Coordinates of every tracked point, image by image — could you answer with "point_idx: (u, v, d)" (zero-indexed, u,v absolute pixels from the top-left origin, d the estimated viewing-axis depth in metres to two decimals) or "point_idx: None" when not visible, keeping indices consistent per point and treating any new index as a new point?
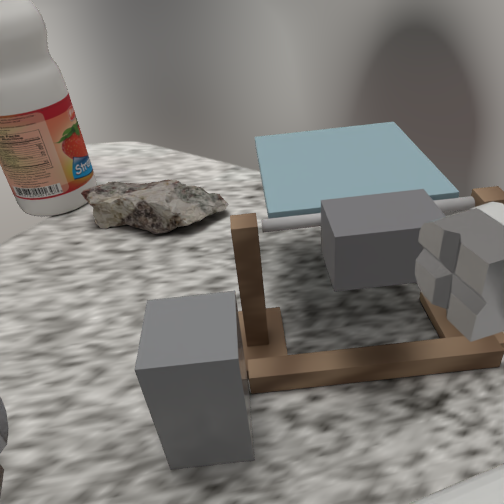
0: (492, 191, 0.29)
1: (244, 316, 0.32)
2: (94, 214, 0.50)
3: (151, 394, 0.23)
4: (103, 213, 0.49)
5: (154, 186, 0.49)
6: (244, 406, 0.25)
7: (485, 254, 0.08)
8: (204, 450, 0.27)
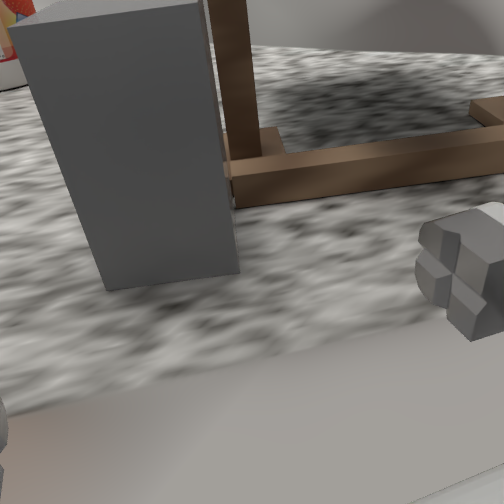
0: None
1: (224, 100, 0.22)
2: None
3: (48, 100, 0.13)
4: None
5: None
6: (216, 139, 0.14)
7: (485, 254, 0.08)
8: (157, 248, 0.16)
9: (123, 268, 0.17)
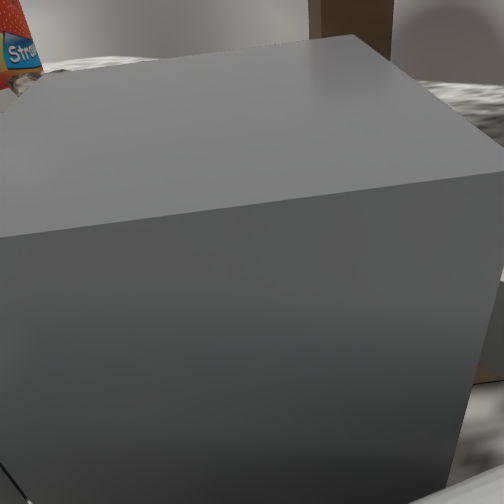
0: None
1: None
2: None
3: (8, 414, 0.04)
4: None
5: None
6: (447, 455, 0.06)
7: None
8: None
9: None
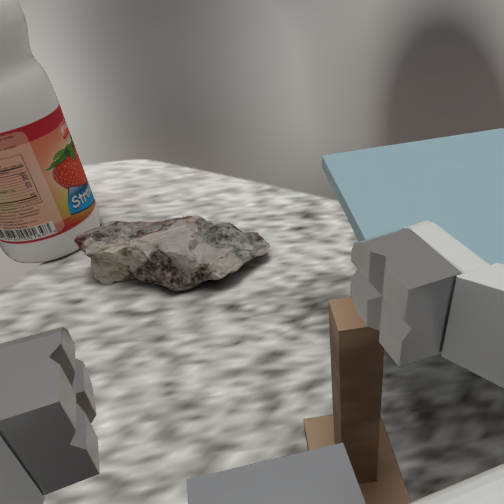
0: None
1: None
2: (93, 267, 0.37)
3: None
4: (105, 265, 0.37)
5: (171, 226, 0.37)
6: None
7: (407, 279, 0.07)
8: None
9: None
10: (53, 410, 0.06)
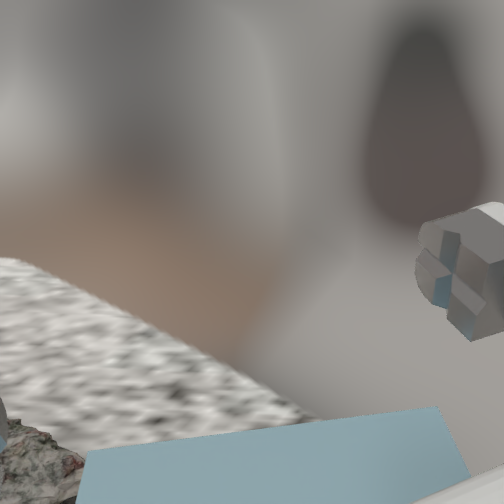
0: None
1: None
2: None
3: None
4: None
5: None
6: None
7: (485, 254, 0.08)
8: None
9: None
10: None
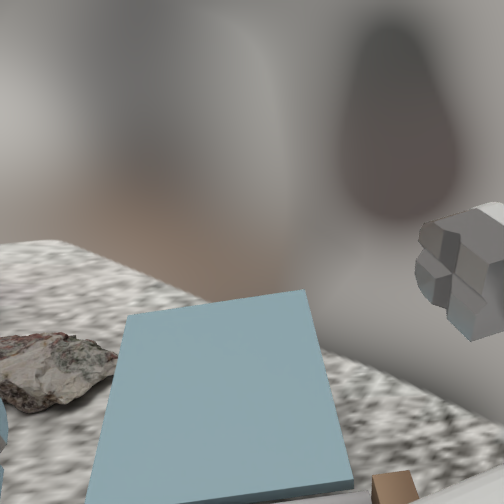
0: (399, 485, 0.20)
1: None
2: None
3: None
4: None
5: (28, 349, 0.40)
6: None
7: (485, 254, 0.08)
8: None
9: None
10: None
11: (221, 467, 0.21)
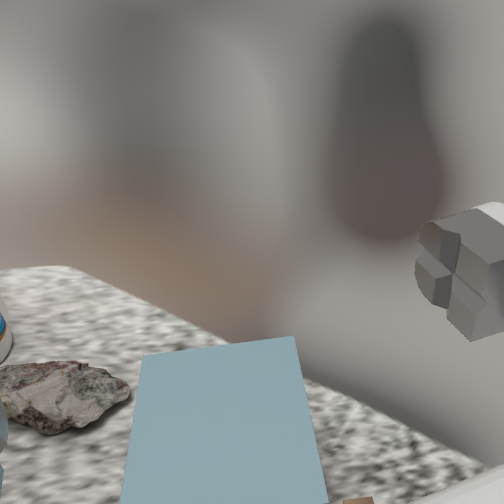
0: None
1: None
2: None
3: None
4: None
5: (47, 377, 0.45)
6: None
7: (485, 254, 0.08)
8: None
9: None
10: None
11: (225, 492, 0.27)
